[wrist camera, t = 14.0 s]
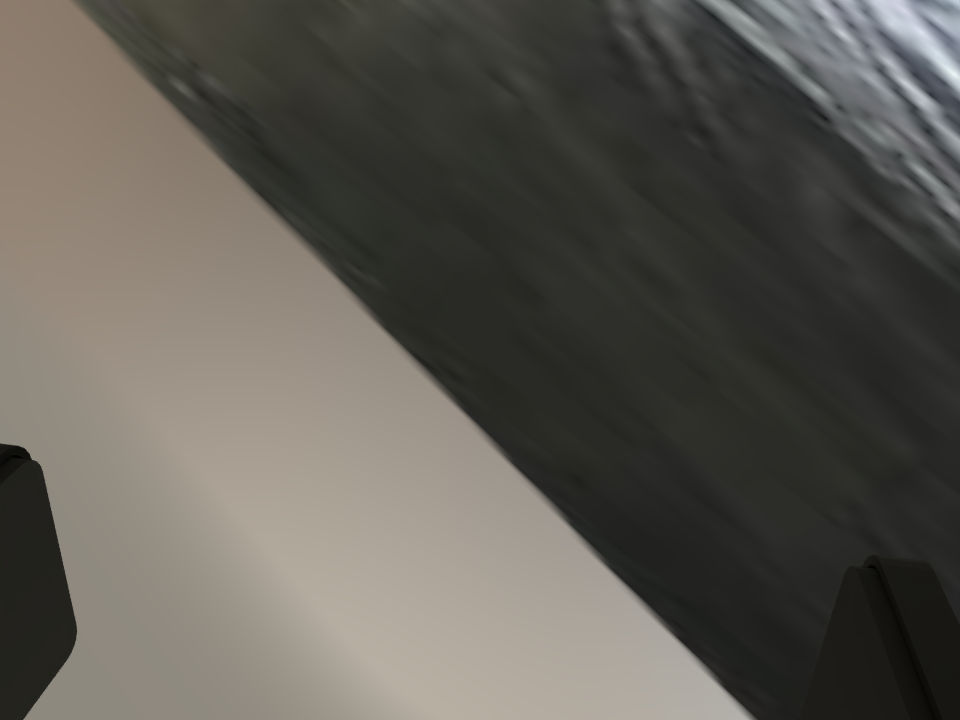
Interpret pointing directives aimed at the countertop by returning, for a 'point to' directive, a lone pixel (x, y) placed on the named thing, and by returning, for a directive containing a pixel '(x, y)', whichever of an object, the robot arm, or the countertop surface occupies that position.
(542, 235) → the countertop surface
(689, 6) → the countertop surface
